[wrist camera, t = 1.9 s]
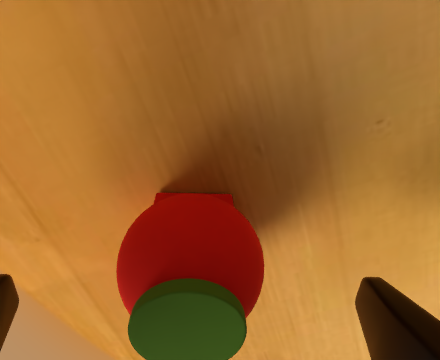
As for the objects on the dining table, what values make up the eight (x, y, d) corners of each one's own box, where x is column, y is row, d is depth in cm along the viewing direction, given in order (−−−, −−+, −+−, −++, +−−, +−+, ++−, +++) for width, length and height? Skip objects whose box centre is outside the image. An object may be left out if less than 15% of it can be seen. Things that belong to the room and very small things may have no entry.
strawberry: (248, 269, 12) (267, 388, 8) (137, 268, 12) (105, 389, 8) (259, 170, 10) (291, 266, 6) (128, 167, 10) (80, 263, 6)
